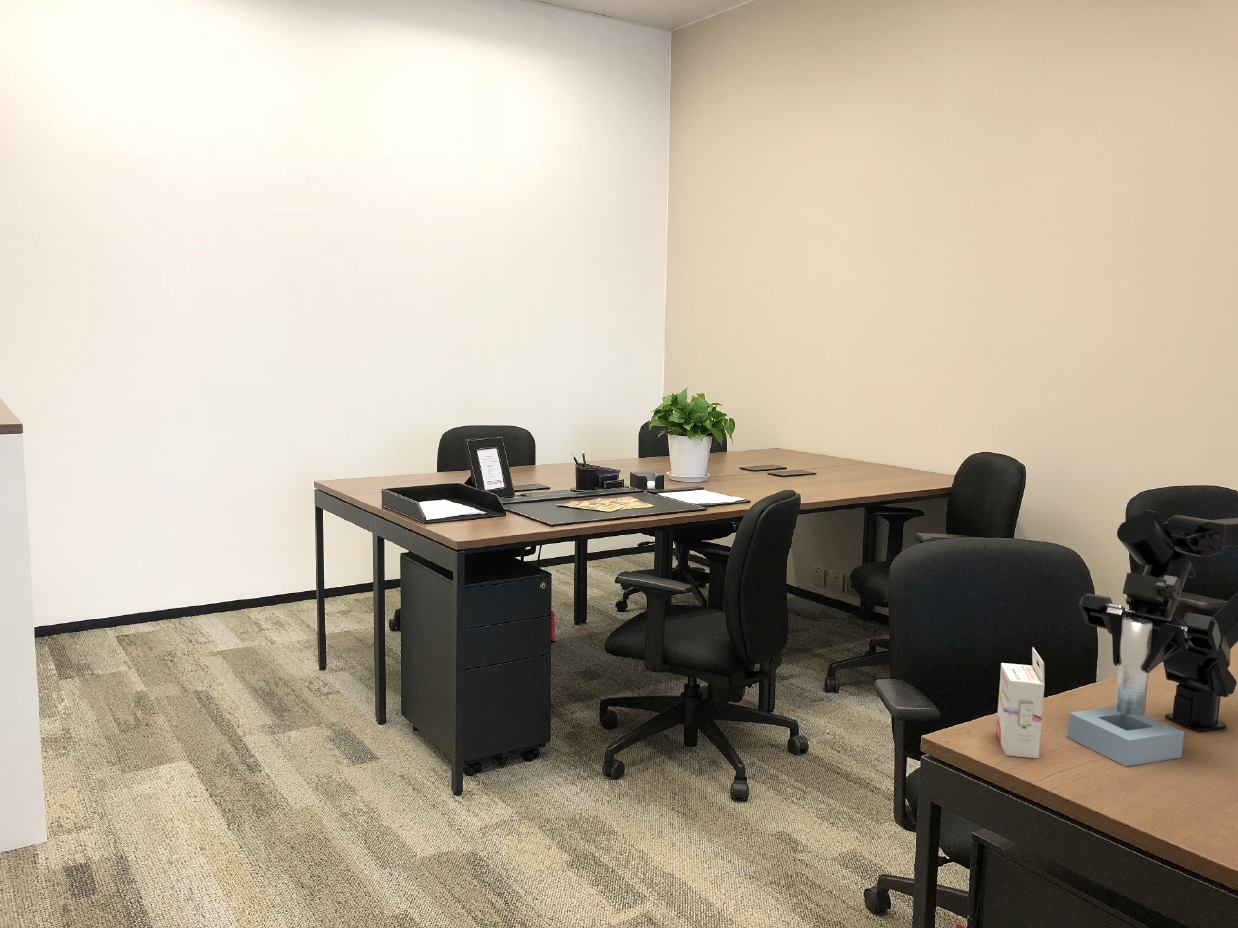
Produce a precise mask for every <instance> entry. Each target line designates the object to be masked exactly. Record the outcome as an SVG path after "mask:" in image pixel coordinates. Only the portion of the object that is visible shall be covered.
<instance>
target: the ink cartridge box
mask: <svg viewBox="0 0 1238 928" xmlns="http://www.w3.org/2000/svg"><path fill="white" fill-rule="evenodd" d="M1031 649H1032V650H1031V651H1032V652H1031V653H1032V654H1031V658H1032V660H1031V661H1032V665H1028V664H1017V663H1005V662H1001V663H1000V677H999V679H1000V680H999V690H998V691H999V692H998V703H997V704H998V705H997V713H996V714H997V717H996V729H995V730H996V731H995V735H996V736H997V739H998V741H999V743H1000V745H1001V748H1002V750H1003V752H1004V755H1005V756H1009V757H1016V758H1017V757H1019V758H1029V759H1031V758H1032V759H1039V758H1040V747H1041V737H1042V735H1041V732H1042V724H1043V722H1042V721H1043V710H1044V709H1043V708H1044V699H1045V698H1044V697H1045V696H1044V695H1045V694H1044V693H1045V662H1044V661H1043V659H1042V658H1041V656H1040V655H1039V653H1038V652H1037V650H1036V649H1035V647H1034V646H1033V647H1032V648H1031ZM1038 664H1039V665H1038Z"/></svg>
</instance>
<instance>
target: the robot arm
mask: <svg viewBox="0 0 1238 928" xmlns="http://www.w3.org/2000/svg"><path fill="white" fill-rule="evenodd" d="M1116 536H1117V539H1118V540H1119V541H1120V543H1121V544H1122V545H1123V546H1124V548H1126V551H1128V552H1129V554H1130V555H1131V556H1132V557H1133V559H1134V560H1135V561H1136V562H1137V563H1138V564H1140V565H1143V566H1145V567H1144V571H1143V573H1142V574H1139V573H1133V572H1127V573H1126V576H1125V580H1124V584H1123V588H1122V594H1123V595H1126V599H1125V603H1126V605H1128V606H1130V607H1129V609H1127V608H1125V607H1124V606H1122V605H1118V604H1114V603H1113V600H1112V598H1111V597H1110V596H1106V595H1105V596H1104V595H1099V594H1094V593H1085V594H1084V595H1082V596H1081V598H1080V600H1079V604H1078V607H1079V610H1080V613H1081V615H1082V617H1083V620H1084V622H1085V624H1087V625H1088V626H1091V627H1095V628H1100V629H1104V630H1107V633H1108V634H1110V635H1111V638H1112V639H1111V641H1112V645H1111V646H1112V664H1113V665H1114V666H1115V667H1116V666H1119V654H1120V642H1121V630H1122V619H1123V618H1126V617H1135V618H1142V619H1146V620H1149V621H1151V622H1152V623H1153V625H1152V629H1156V630H1158V634H1157V637H1156V640H1155V642H1154V643H1153V646H1152V648H1151V649H1150V654H1149V656H1148V659H1147V661H1146V665H1145V668H1144V670H1145V673H1148V674H1149V673H1151V672H1152V671H1153V670H1154V669H1156V668H1157V667H1158V666H1159V665H1160V664H1161V663H1163V664H1162V665H1163V668H1164V673H1165V679H1166V680H1168V681H1172V682H1174V683H1177V684H1176V687H1175V694H1174V698H1173V706H1172V713H1165V714H1164V718H1166V719H1168V720H1169V721H1172V722H1175V723H1177V724H1180V725H1182V726H1184V727H1187V728H1188V729H1191V730H1194V731H1196V732H1206V731H1212V730H1219V729H1227V727H1228V725H1227V724H1226V723H1224V722H1221V721H1219V717H1220V716H1219V713H1220V707H1221V706H1220V705H1221V697H1222V698H1229V695H1233V694H1234V692H1235V689H1236V687H1237V684H1238V683H1237V682H1238V681H1237V679H1236V678H1235V677H1234V675H1233V674H1232V673H1231V671H1230V670H1229V667H1230V665H1231V649H1232V648H1233V647H1234V646H1235V645H1236V644H1237V643H1238V591H1237V592H1236V593H1235V594H1234V595H1232V597H1231V598H1230V599H1229V600H1228V601H1227V602H1226V603H1225V604H1224V605H1223V606H1222V607H1221V608H1220V609H1219V610H1218V611H1217V612H1216V613H1215V615H1213V616H1208V615H1204V614H1198V613H1194V612H1193V613H1192V612H1186V613H1185V614H1184V617H1183V619H1182V620H1180V619H1176V618H1173V616H1174V613H1175V611H1176V608H1179V605H1180V602H1181V601H1180V597H1181V593H1182V590H1183V589H1184V585H1185V583H1186V580H1187V578H1195V577H1196V576H1197V575H1196V570H1195V568H1194V567H1193V566H1192V562H1191V560H1190V559H1189V558H1188V557H1187V555H1186V554H1188V555H1191V556H1195V557H1196V556H1197V557H1202V558H1209V557H1211V556H1216V555H1218V554H1220V553H1223V552H1224V550H1225V548H1227V547H1230V546H1238V517H1234V518H1232V517H1231V518H1223V519H1212V520H1211V519H1204V518H1198V517H1193V516H1192V517H1191V516H1186V515H1180V514H1175V515H1172V516H1171V517H1169V518H1168V519H1167V521H1166V522H1163V521H1162V518H1161V516H1160V515H1159V513H1158V512H1157V511H1153V510H1147V509H1145V510H1143V512H1142V513H1141V514H1138V515H1135V516H1132V517H1130V518H1128V519H1126V520H1125V521H1124V522H1121V523H1120V524H1119V526H1118V527H1117V531H1116Z"/></svg>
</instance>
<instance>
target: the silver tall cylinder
mask: <svg viewBox="0 0 1238 928" xmlns="http://www.w3.org/2000/svg"><path fill="white" fill-rule="evenodd" d="M1152 625H1153V623H1152V622H1151V621H1149V620H1146V619H1142V618H1135V617H1126V618H1123V619H1122V630H1121V642H1120V654H1119V664H1118V665H1117V666H1118V667H1117V679H1116V693H1115V703H1114V704H1115V705H1114V707H1115V709H1116V710H1117V711H1118V712H1120V713H1123V714H1126V715H1132V716H1142V715H1145V714H1146V704H1147V703H1146V701H1147V694H1148V693H1147V691H1148V680H1149V679H1148V678H1149V673H1145V670H1144V668H1145V665H1146V661H1147V659H1148V656H1149V654H1150V652H1151V649H1152V648H1151V647H1152V645H1151V644H1152V635H1153V628H1152Z"/></svg>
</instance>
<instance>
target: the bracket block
mask: <svg viewBox="0 0 1238 928" xmlns="http://www.w3.org/2000/svg"><path fill="white" fill-rule="evenodd" d="M1067 725H1068V726H1067V736H1066V737H1067V738H1068V739H1070V740H1072V741H1074V742H1077V743H1078V744H1079V745H1082V746H1084V747H1085V748H1088V749H1090V750H1092V751H1094V752H1096V753H1098V754H1099V755H1100V754H1101V755H1102V756H1104V757H1107V758H1108V759H1110V760H1112V761H1114V762H1116V763H1118V764H1120V765H1121V766H1124V767H1132V766H1138V765H1142V764H1149V763H1155V762H1162V761H1167V760H1173V759H1180V758H1182V755H1183V745H1184V735H1185V731H1183V730H1181V729H1178V728H1176V727H1174V726H1172V725H1169V724H1167V723H1164V722H1163V721H1160V720H1158V719H1156V718H1153V717H1152V716H1148V715H1145V714H1144V715H1142V716H1132V715H1126V714H1123V713H1120V712H1118V711H1117V710H1116V709H1115V706H1109V707H1102V708H1094V709H1089V710H1088V709H1087V710H1078V711H1072V712H1070V711H1069V714H1068V723H1067Z"/></svg>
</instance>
